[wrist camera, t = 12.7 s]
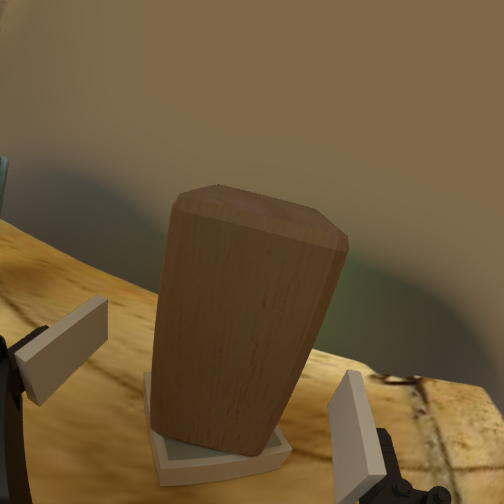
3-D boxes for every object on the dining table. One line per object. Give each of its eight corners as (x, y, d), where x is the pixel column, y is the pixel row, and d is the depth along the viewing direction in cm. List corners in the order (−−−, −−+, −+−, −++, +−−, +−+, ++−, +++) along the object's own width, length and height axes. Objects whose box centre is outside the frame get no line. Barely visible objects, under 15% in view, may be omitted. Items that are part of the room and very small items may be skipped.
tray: (143, 396, 28) (143, 371, 27) (239, 393, 33) (247, 369, 32) (160, 486, 18) (160, 467, 17) (279, 468, 23) (293, 448, 22)
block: (264, 390, 29) (324, 210, 24) (260, 462, 20) (359, 236, 14) (175, 368, 29) (209, 181, 24) (146, 434, 20) (170, 188, 14)
